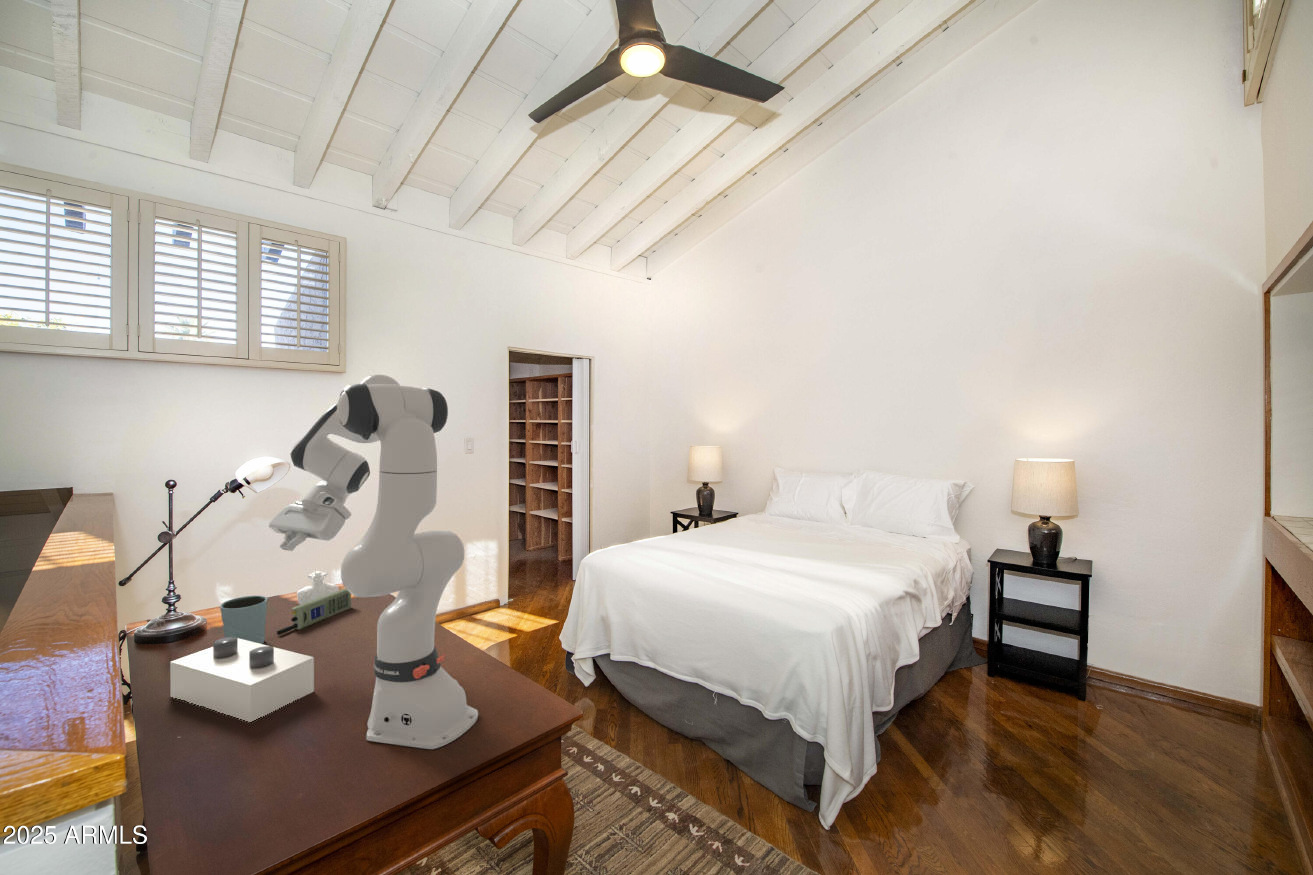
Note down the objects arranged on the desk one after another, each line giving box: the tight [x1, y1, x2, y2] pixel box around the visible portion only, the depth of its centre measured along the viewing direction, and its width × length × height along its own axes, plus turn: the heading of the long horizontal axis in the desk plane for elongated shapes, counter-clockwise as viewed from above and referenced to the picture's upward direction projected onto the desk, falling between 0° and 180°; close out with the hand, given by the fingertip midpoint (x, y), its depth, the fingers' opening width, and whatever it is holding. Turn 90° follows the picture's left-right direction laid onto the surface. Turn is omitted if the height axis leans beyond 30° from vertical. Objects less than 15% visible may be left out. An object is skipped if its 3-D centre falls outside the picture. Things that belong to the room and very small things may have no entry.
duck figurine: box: [296, 570, 340, 605], centre depth 182 cm, size 12×8×11 cm
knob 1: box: [212, 637, 238, 658], centre depth 125 cm, size 4×4×7 cm
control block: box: [169, 638, 315, 723], centre depth 123 cm, size 26×14×8 cm, turn 70°
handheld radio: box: [276, 587, 352, 636], centre depth 167 cm, size 7×3×25 cm
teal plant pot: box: [219, 595, 268, 645], centre depth 148 cm, size 10×10×12 cm
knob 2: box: [249, 645, 274, 669], centre depth 121 cm, size 4×4×7 cm
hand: (285, 549), depth 138 cm, fingers closed
